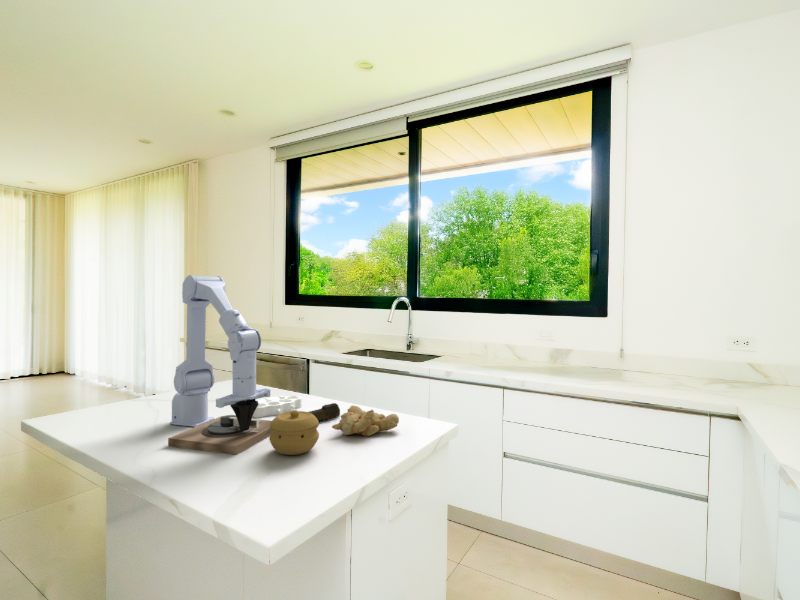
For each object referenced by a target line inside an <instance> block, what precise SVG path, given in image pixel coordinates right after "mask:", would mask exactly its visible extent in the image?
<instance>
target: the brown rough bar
mask: <svg viewBox="0 0 800 600" xmlns="http://www.w3.org/2000/svg"><path fill="white" fill-rule="evenodd" d="M308 412H309V413H311V414H313V415H314V416H315V417H316V418H317V419H318V421H331V420H333V418H334V419H335V418H337V417H341V409H340V407H339V404H338V403H334V402H333V403H329V404H328V403H327V404H325V405H322V406H321V408H319V409H314V410H310V411H308Z"/></svg>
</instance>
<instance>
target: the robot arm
mask: <svg viewBox="0 0 800 600" xmlns="http://www.w3.org/2000/svg"><path fill="white" fill-rule="evenodd" d="M226 286H227V285H226V282H225V280H224V278H223V277H222V276H219V275H217V276H210V275H209V276H206V275H191V274H188V275H187V276H186V277H185V278H184V280H183V281H182V292H181V293H182V303H183V304H186V351H185V353H186V357H185V358H186V359H184V361H182V362H181V363H180V364H178V366H176V368H175V375H174V378H173V386H174V389H175V391H176V393H175V394H174V396H173V398H172V400H171V421H170V422H169V424H170V425H177V426H186V427H192V428H194V427H196V426H199V425H201V424H204V423H206V422H209V421H211V420H213V419H216V418H215V417H213V416H209V392H210V391H211V389H212V388H213V386H214V385H215V383H216V382H215V379H216V378H215V373H214V365H213V364H212V363H211V362H210V361H208V360H206V328H207V327H206V326H207V325H206V323H207V321H206V318H207V313H206V312H207V308H208V306H209V305H210V304H211V305H212V307H213V308H214V309H215V310H216V311H217V313H218V315H219V319H218V322H219V324H220V326H221V328H222V329H223V331H224V333H225V335H226V336H227V338H228V340H227V347H228V350H229V358H230V360H232V393H231V394H228V395H225V396H222V397H219V398H216V399H215V408H219V409H222V408H224V407H228V406H230V408H231V409H232V411H233V413H234V414H235V416H236V417H237V420H238V423H239V427H240V430H243V431H246V430H249V427H250V423H251V420H252V419H253V417H252V416H253V414H254V412H255V410H256V408H257V406H258V400H259V399H264V398H271V389H270V388H262V389H260V388H259V389H257V351H259V350H260V348H261V346H262V337H261V335H260V332H259V330H258V329H257V328H253V327H251V326H249V325H248V323H247V321H246V320H245V318H244V317H243V314H241V312H240V311H239V310H237V309H234V308H233V306H232V304H231V303H230V301H229V298H228V296H227V294H226V291H227V289H226V288H227V287H226ZM257 399H258V400H257Z"/></svg>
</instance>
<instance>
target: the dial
mask: <svg viewBox="0 0 800 600" xmlns="http://www.w3.org/2000/svg"><path fill="white" fill-rule="evenodd" d="M221 416H222V417H221ZM221 416H220V417H221V418H220V421H217V422H214V423H212V424H210V425H209V426H208V432H209V433H211V434H217V435H224V434H233V433H238V432H241V431H243V430H240V427H239V423H238V420H237V417H236V415H234V414H227V415H226V414H225V415H221ZM259 420H260V419H258V418H252V420H251V423H250V427H249V428H258V427H259Z"/></svg>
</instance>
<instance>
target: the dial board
mask: <svg viewBox="0 0 800 600" xmlns="http://www.w3.org/2000/svg"><path fill="white" fill-rule="evenodd" d="M222 416H223V415H221V416H218V417H216V418H215V419H213V420H211V421H209V422H206V423H204V424H201V425H199V426H196V427H192V428H190V429H186V430H185V431H182V432H180V433H177V434H175V435H173V436H170V437H168V438H167V446H168V447H173V448H180V449H181V448H182V449H187V448H188V449H189V450H196V451H204V452H212V453H220V454H221V453H222V454H228V455H235V456H237V455H239V454H241V453H242V452H244V451H246V450H247V449H249V448H251V447H253V446H254V445H256V444H258V443H260V442H261V441H263V440H264V439H266V438H268V437H270V435H271V434H272V431H271V430H270V424H271V422H272V420H268V419H267V420H266V419H259V427H258V428H249V430H246V431H241V432H238V433H233V434H224V435H217V434H211V433H209V432H208V426H209V425H210V424H212V423H214V422H217V421H220V418H221V417H222Z"/></svg>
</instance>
